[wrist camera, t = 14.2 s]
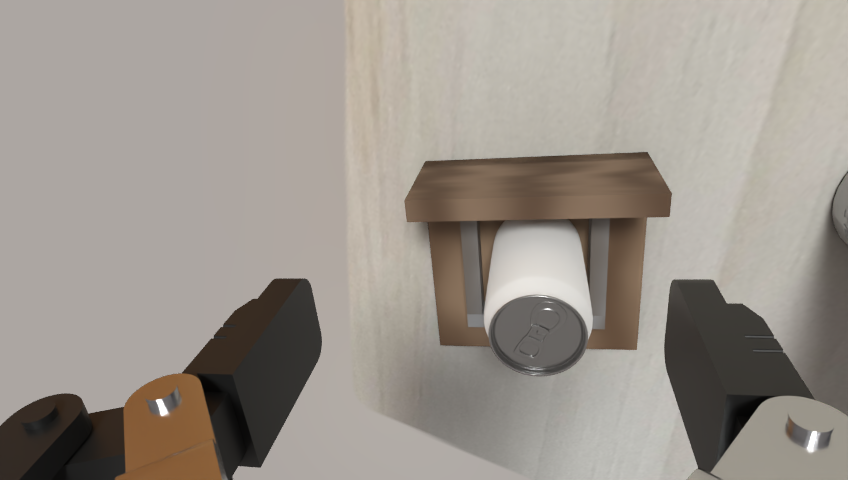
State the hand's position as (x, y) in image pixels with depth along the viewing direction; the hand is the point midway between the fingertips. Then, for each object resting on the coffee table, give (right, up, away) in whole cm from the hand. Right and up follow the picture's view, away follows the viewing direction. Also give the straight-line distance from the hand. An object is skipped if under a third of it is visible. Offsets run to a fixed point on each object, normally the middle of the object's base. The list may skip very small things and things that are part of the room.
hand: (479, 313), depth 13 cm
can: (+7, +1, +31) cm, 31 cm away
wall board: (+7, +1, +32) cm, 33 cm away
